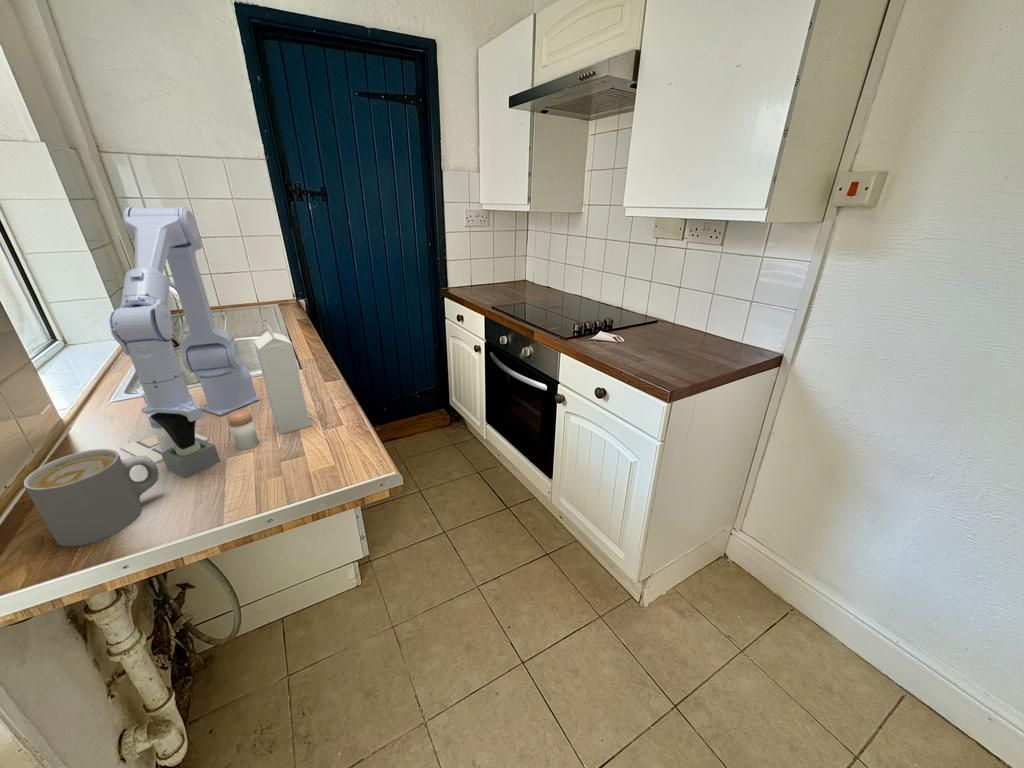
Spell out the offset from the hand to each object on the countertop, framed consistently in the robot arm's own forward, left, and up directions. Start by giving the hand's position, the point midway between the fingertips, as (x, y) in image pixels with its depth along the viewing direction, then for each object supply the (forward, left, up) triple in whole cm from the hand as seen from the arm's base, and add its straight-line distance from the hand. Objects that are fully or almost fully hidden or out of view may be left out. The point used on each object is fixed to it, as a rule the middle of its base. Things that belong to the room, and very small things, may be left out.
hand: (187, 446), depth 77 cm
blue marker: (-2, -10, -4) cm, 11 cm away
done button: (0, 0, -3) cm, 3 cm away
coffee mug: (+13, +4, -4) cm, 15 cm away
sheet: (-2, -13, -4) cm, 14 cm away
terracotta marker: (-9, +2, -4) cm, 10 cm away
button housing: (0, 0, -4) cm, 4 cm away
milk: (-19, +3, -4) cm, 19 cm away
